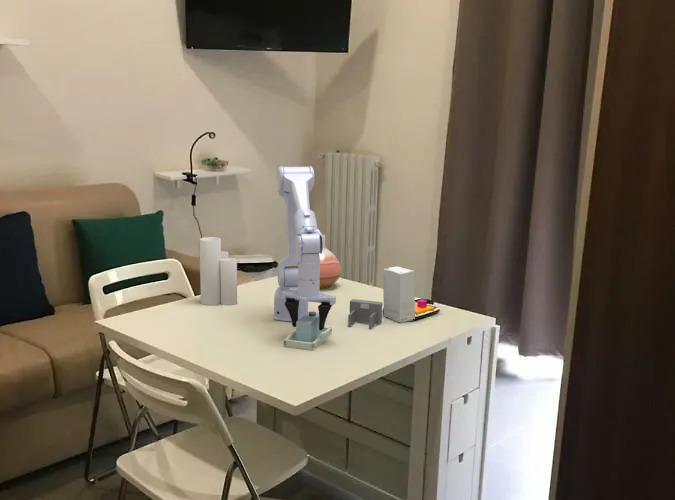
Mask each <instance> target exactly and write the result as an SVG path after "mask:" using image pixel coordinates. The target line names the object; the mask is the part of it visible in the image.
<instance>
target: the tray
mask: <svg viewBox="0 0 675 500" xmlns="http://www.w3.org/2000/svg"><path fill="white" fill-rule="evenodd" d="M332 331H333V328H332V327H329V326H324V329H323V330H322V333H321V334H320V335H319V336H318V337H317V338H316V339H315V340H314V341H313V342H312V343H309V342H301V341H296V329H295V330H294V331H293V332H292V333H290V334H289V335H288V336H287V337H285V339H283V347H285V348H292V349H293V348H294V349H299V350H300V349H301V350H309V351H315V350H316V349H317V348H319V346H320V345H321V344H322V343H324V342H325V340H326V339H328V338H329V337H330V336H331V335H332V334H333V332H332Z"/></svg>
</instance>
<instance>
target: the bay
mask: <svg viewBox="0 0 675 500" xmlns="http://www.w3.org/2000/svg"><path fill="white" fill-rule="evenodd" d="M347 316H348V318H347V320H348V323H347V327H349V328H350V327H352V326H353V325H354V323H361V324H362V323H363V324H368V330H372V329H373V328H374V327H375V326H376V325H382V324H381V323H382V322H383V301H374V300H365V299H355V298H352V299H351V300H350V301H349V314H348V315H347Z"/></svg>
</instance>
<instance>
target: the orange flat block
mask: <svg viewBox="0 0 675 500" xmlns="http://www.w3.org/2000/svg"><path fill="white" fill-rule="evenodd" d="M427 311H434V312H435V307H434V306H431V305H428V301H427V300H426V299H423V298H422V299H419V300H417V301H415V314H416V315H418V314H421V313H425V312H427Z"/></svg>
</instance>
